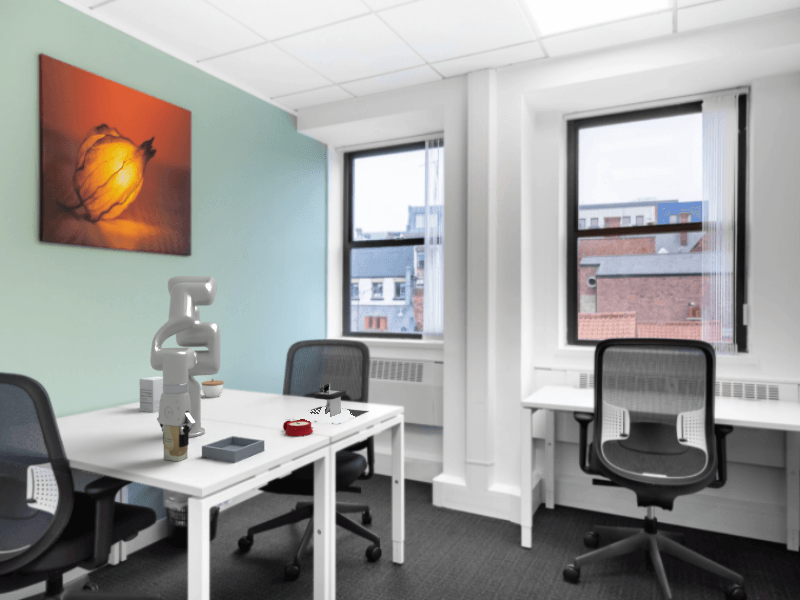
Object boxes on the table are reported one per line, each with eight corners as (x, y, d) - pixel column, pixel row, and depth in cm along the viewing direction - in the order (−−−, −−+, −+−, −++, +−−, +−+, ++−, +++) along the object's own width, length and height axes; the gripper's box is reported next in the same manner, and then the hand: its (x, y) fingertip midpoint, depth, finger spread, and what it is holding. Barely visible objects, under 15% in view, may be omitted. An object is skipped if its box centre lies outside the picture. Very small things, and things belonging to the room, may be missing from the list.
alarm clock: (290, 429, 193) (279, 412, 206) (289, 444, 195) (278, 427, 207) (317, 425, 198) (305, 409, 211) (316, 441, 200) (304, 424, 212)
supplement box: (155, 407, 249) (155, 375, 249) (169, 409, 245) (169, 377, 245) (138, 411, 241) (138, 378, 241) (152, 413, 237) (152, 379, 237)
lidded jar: (227, 395, 280) (227, 377, 280) (217, 399, 270) (217, 380, 270) (208, 394, 282) (208, 377, 282) (197, 398, 271) (197, 380, 271)
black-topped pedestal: (320, 406, 250) (320, 378, 250) (369, 411, 240) (369, 382, 240) (284, 419, 225) (284, 387, 225) (338, 425, 214) (337, 392, 214)
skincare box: (162, 459, 168) (162, 421, 168) (173, 455, 172) (173, 418, 172) (178, 461, 166) (178, 423, 166) (188, 457, 170) (188, 420, 170)
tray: (201, 456, 171) (201, 446, 171) (232, 445, 184) (232, 435, 184) (234, 462, 165) (234, 451, 165) (264, 450, 178) (264, 440, 178)
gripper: (146, 388, 170) (147, 444, 170) (186, 392, 162) (186, 451, 162) (166, 385, 176) (166, 438, 176) (204, 389, 169) (204, 445, 169)
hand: (175, 444), depth 169 cm, fingers closed on skincare box, 6 cm apart
